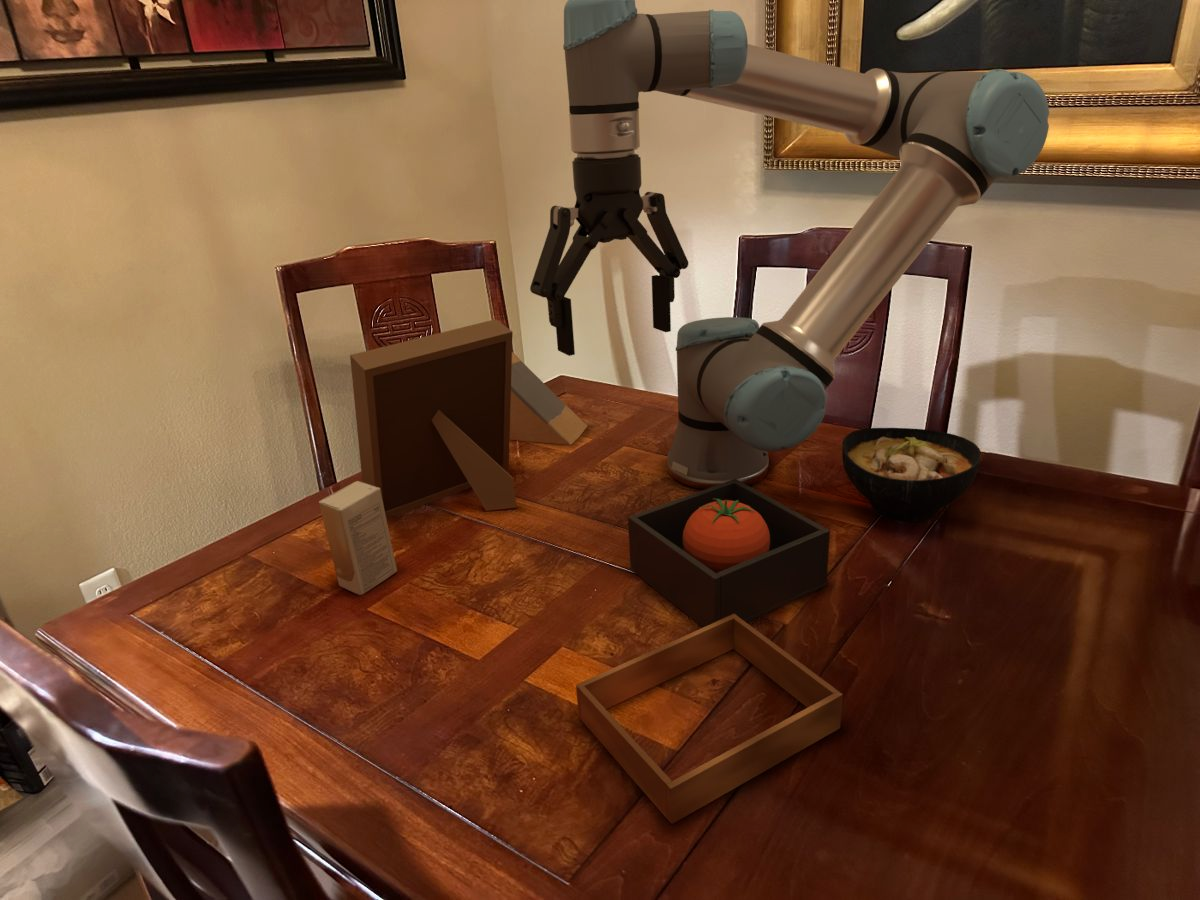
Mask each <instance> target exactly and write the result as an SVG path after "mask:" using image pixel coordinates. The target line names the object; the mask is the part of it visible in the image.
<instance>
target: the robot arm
mask: <svg viewBox="0 0 1200 900" xmlns="http://www.w3.org/2000/svg"><path fill="white" fill-rule="evenodd" d="M562 46H563V47H562V48H563V50H564V58H565V59H564V61H565V71H566V82H567V83H566V84H567V95H568V109H569V110H568V111H569V114H568V116H569V134H570V150H571V151H572V152H573V154H576V157H574V158H573V160H572V162H571V163H572V178H573V179H572V180H573V189H574V193H575V204H574V207H573V206H569V207H566V206H565V207H564V206H561V205H552V206H551V208H550V211H549V229H548V231H547V235H546V238H545V240H544V244H543V247H542V250H541V253H540V256H539V259H538V262H537V265H536V268H535V271H534V273H533V274H534V275H533V276H532V280H531V284H530V286H529V290H530V292H531V293H532V294H533V295H536V296H538V297H542V298H545V299H546V301H547V311H548V322H549V324H550V326H552V327H554V328H555V331H556V333H555V334H556V344H557V351H558V352H560V353H563V354H564V355H566V356H568V357H570V356H571V357H572V356H575V354H576V350H575V338H574V337H575V336H574V325H573V324H574V323H573V311H572V298H568V297H567V296H566V294H567V293H568V291H569V289H570V288H571V286H572V284H573V282H574V280H575V279H576V277H577V275H578V274H579V272H580V270H581V269H582V267H583V265H584V264H585V262H586V260H587V259H588V257H589V255H590V253H591V252H592V250H594V249H595V248H597V246H598V244H599V243H602V244H606V243H611V242H612V241H614V240H619V241H622V240H627V238H628V239H629V241H630V242H631V243H632V244H633V245H634V246H635V247H636V249H637V250H638V251H639V252H640V253H641V254H642V256H643V257H644V258H645V259H646V260H647V261H648V263H649V264H650V265H651V266H652V267H653V268H654V270H655V271H656V272H657V273H658V274H655V275H651V297H652V298H651V300H652V301H651V302H652V303H651V304H652V305H651V306H652V328H653V329H654V330H655V329H656V330H658V331H661V332H664V333H670V332H671V331H672V323H671V322H672V321H671V320H672V319H671V316H672V315H671V303H673V302H674V301H675V295H676V294H675V292H676V291H675V279H678V278H679V277H680V275H681V270H686V269H688V267H689V261H688V258H687V256H686V253H685V251H684V249H683V247H682V244H681V241H680V240H679V238H678V236H677V233H676V231H675V229H674V227H673V225H672V222H671V220H670V217H669V216H668V213H667V208H666V207H667V206H666V200H665V196H664V194H663V193H660V192H654V191H647V192H645V193H644V195H643V196H641V193H640V190H641V187H642V158H641V156H639V154H638V153H635V151H636V150H638V149H639V148H640V147H641V142H640V141H641V140H640V139H641V138H640V113H639V112H640V111H639V109H640V103H639V95H640V93H652V92H659V93H664V94H669V95H673V96H680V97H684V98H689V99H693V100H697V101H702V102H706V103H709V104H714V105H719V106H723V107H727V108H731V109H736V110H740V111H745V112H748V113H749V112H750V113H754V114H758V115H762V116H767V117H772V118H775V119H780V120H784V121H788V122H792V123H796V124H800V125H801V124H802V125H805V126H809V127H814V128H818V129H823V130H828V131H832V132H836V133H841V134H844V135H845V138H846V139H847V141H848V142H849V143H851V144H852V145H856V146H861V147H865V148H868V149H872V150H875V151H878V152H880V153H883V154H887V155H889V156H891V157H894V158H897V159H899V160H900V161H899V162H900V167H899V168H898V170H897V171H896V172H895V173H894V175H893V176H892V177H891V179H890V180H889V181H888V182H887V183H886V185H885V186H884V187H883V189H882V190H881V191H880V192H879V194H878V195H877V196H876V198H875V199H874V200H873V201H872V202H871V204H870V205H869V207H868V208H867V209H866V210H865V212H864V213H863V214H862V215H861V216H860V218H859V219H858V220H857V222H856V223H855V224H854V226H853V227H852V228H851V229H850V230H849V232H848V233H847V234H846V236H845V237H844V238H843V240H842V241H841V242H840V243H839V244H838V246H837V247H836V248H835V250H834V251H833V252H832V253H831V255H830V256H829V257H828V259H827V260H826V261H825V262H824V264H823V265H822V266H821V267H820V269H819V270H818V271H817V273H816V274H815V275H814V276H813V277H812V279H811V280H810V281H809V283H808V284H807V285H806V286H805V287H804V289H803V290H802V292H801V293H800V294H799V296H798V297H796V299H795V301H794V302H793V303H792V304H791V305H790V307H789V308H788V309H787V310H786V312H785V313H784V314H783V316H782V317H781V318H780V319H778V320H774V321H773V320H772V321H767V322H766V321H765V322H762V324H761V325H760V324H759V323H758V321H757V320H755V319H752V318H750V317H740V316H726V317H725V316H724V317H712V318H711V317H710V318H703V319H698V320H694V321H690V322H687V323H685V324H683V325H682V326H680V328H679V329H678V330H677V334H676V347H675V351H676V376H677V377H676V379H677V412H678V413H677V415H678V416H677V417H678V419H677V420H678V421H677V425H676V427H675V432H674V434H673V438H672V442H671V446H670V448H669V450H668V452H667V456H666V460H667V461H666V465H667V466H666V467H667V472H668V474H669V476H670V477H671V478H672V479H674V480H675V481H677V482H679V483H680V484H683V485H685V486H688V487H691V488H695V489H700V490H705V489H708V488H711V487H713V486H716V485H719V484H722V483H725V482H727V481H731V480H733V479H737V480H739V481H740V482H742V483H744V484H746V485H748V486H749V487H750V486H751V485H754V484H757V483H758V482H760V481H761V480H763V479H764V478H765V477H766V476H767V474H768V472H769V467H770V466H769V461H770V460H769V459H770V458H769V453H768V452H779V451H785V450H790V449H792V448H794V447H797V446H798V445H800V444H802V443H804V442H805V441H806V440H808V439H809V438H810V437H811V436H812V435H813V434H814V433H815V432H816V431H817V430H818V429H819V427H820V426H821V424H822V422H823V420H824V417H825V416H826V415H825V414H826V412H827V411H826V407H825V405H826V404H827V402H828V399H827V393H826V390H827V388H828V387H829V386H830V385H831V383H832V382H833V381H835V378H836V373H835V372H836V371H835V364H834V363H835V360H836V358H837V357H838V356H839V354H841V353H842V351H843V350H844V349H845V347H847V344H849V342H850V341H851V340H852V338H853V337H854V336H855V335H856V333H857V332H858V331H859V330H860V329H861V328H862V326H863V325H864V323H866V321H867V320H868V318H869V317H870V316H871V315H872V313H874V312H875V310H876V309H877V307H878V306H879V305H880V303H881V302H883V300H884V298H886V296H887V295H888V294H889V292H891V290H892V289H893V287H894V286H895V285H896V284H897V282H898V281H899V280H900V279H901V277H902V276H903V275H904V274H905V272H906V271H907V270H908V269H909V268H910V266H911V265H912V264H913V263H914V261H915V260H916V259H917V257H918V256H919V255H920V254H921V253H922V251H923V250H924V249H925V248H926V247H927V245H928V244H929V242H930V241H931V240H932V239H933V238H934V236H935V235H936V233H938V231H939V230H940V229H941V228H942V226H943V225H945V223H946V222H947V220H948V219H949V218H950V217H951V215H953V213H954V212H955V210H957V208H958V207H961V206H962V207H963V206H969V205H974V204H976V203H977V202H978V201H979V200H980V199H981V198H982V197H983V195H984V194H985V193H986V192H987V191H988V190H989V188H990V187H991V185H992V184H993V183H994V182H995V181H996V179H1009V178H1011V177H1015V176H1018V175H1020V174H1022V173H1024V172H1025V171H1026V170H1028V169H1029V168H1030V167H1031V166H1032V165H1033V164H1034V163H1035V162H1036V161H1037V159H1038V157H1039V156H1040V154H1041V152H1042V150H1043V149H1044V146H1045V143H1046V140H1047V137H1048V134H1049V128H1050V124H1049V121H1048V119H1049V116H1050V108H1049V102H1048V100H1047V96H1046V94H1045V91H1044V90H1043V88H1042V87H1041V85H1040V84H1039V82H1038V81H1036V80H1035V79H1034V78H1033V77H1032V76H1030V75H1028V74H1026V73H1023V72H1019V71H1008V70H1006V69H1002V68H995V69H990V70H988V71H931V72H930V71H929V72H897V71H890V70H886V69H883V68H877V67H876V68H875V67H874V68H871V69H869V70H867V71H866V72H865V73H863V72H858V71H856V70H855V71H854V70H850V69H847V68H844V67H838V66H835V65H832V64H827V63H823V62H819V61H816V60H812V59H809V58H804V57H800V56H797V55H796V56H795V55H793V54H790V53H789V54H788V53H784V52H781V51H777V50H773V49H769V48H765V47H762V46H757V45H753V44H749V41H748V33H747V30H746V25H745V23H744V21H743V19H742V17H741V16H740V15H739V14H738V13H737V12H735V11H732V10H714V9H713V8H712V9H708V10H700V11H697V10H696V11H684V12H668V13H657V14H655V13H654V14H650V13H638V8H637V7H636V0H567V2H566V3H565V4H564V8H563V45H562ZM642 212H644V214H646V217H647V220H648V221H649V224H650V227H651V229H652V231H653V233H654V235H655V237H656V239H657V241H658V243H659V245H660V247H661V249H660V247H659V246H658V245H657V244H656V242H655V241H654V240H653V238H651V236H650V234H648V230H647V229H646V228H645V226H644V225H643V224H642V223H641V222H640V220H639V218H640V215H641V214H642ZM575 220H576V222H577V223H578V224H579V226H578V228H577V229H576V230H575V233H574V234H573V236H572V242H571V244H570V246H569V247H568V249H567V250H566V252H565V254H564V251H565V249H566V246H567V242H568V239H569V236H570V231H571V228H572V227H573V226H574V224H575ZM563 254H564V256H563Z"/></svg>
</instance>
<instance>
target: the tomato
mask: <svg viewBox="0 0 1200 900" xmlns="http://www.w3.org/2000/svg"><path fill="white" fill-rule="evenodd" d="M715 500H717V501H715V502H712V503H708V504H705V505H704V506H702V507H699V509H698V510H696V511H695V512H694V513H693V514H692V515H691V516H690V518H689V519H688V521H687V523H686V526H685V528H684V531H683V547H684V551H685V552H686V553H688V554H689V555H691V556H692V557H693V558H695V559H696V560H698V561H699V562H700V563H702V564H703V565H705V566H706V567H708V568H709V569H710V570H712V571H713V572H715V573H718V572H720V571H723V570H725V569H728V568H730V567H732V566H735V565H737V564H740V563H742V562H744V561H747V560H749V559H752V558H754V557H756V556H759V555H761V554H764V553H766V552H768V551H769V547H770V534H769V530H768V527H767V524H766V522H765V521H764V519H763V518H762V516H761V515H760V514H759V513H758V512H757V511H755V510H754V509H752V508H751V507H750V506H748V505H745V504H742V503H740V502H738V501H739V500H736V501H730V500H722V501H721V500H720V499H715Z"/></svg>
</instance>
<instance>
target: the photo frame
mask: <svg viewBox="0 0 1200 900" xmlns="http://www.w3.org/2000/svg"><path fill="white" fill-rule="evenodd" d="M513 333H514V332H513V331H512V329H509V328H508V327H507V326H506V325H504V323H502V322H500V320H498V319H496V318H494V319H491V320H487V321H483V322H478V323H474V324H470V325H466V326H462V327H459V328H458V327H457V328H454V329H451V330H447V331H442V332H438V333H434V334H430V335H425V336H422V337H418V338H414V339H410V340H406V341H402V342H397V343H393V344H389V345H385V346H382V347H381V346H380V347H377V348H373V349H369V350H365V351H362V352H357V353H352V354H350V355H349V359H350V368H351V369H350V370H351V381H352V388H353V389H352V390H353V398H354V400H353V401H354V410H355V419H356V430H357V431H356V432H357V440H358V441H357V442H358V450H359V460H360V462H359V463H360V470H361V471H360V472H361V482H363V483H366V484H369V485H372V486H375V487H378V488H380V491H381V496H382V500H383V505H384V510H385V515H386V519H389V518H391V517H392V518H393V517H395V516H397V515H400V514H402V513H405V512H408V511H412V510H414V509H416V508H417V509H418V508H420V507H422V506H424V505H427V504H431V503H432V502H433V503H434V502H436V501H438V500H442V499H443V498H444V499H445V498H446V497H449V496H452V495H455V494H457V493H460V492H464V491H465V490H469V489H472V490H473V492H474V493H475V495H476V497H477V499H478V500H479V502H480V504H481V505H482V507H483V509H484V510H485V511H486V512H490V511H498V510H505V509H506V510H507V509H515V508H517V500H516V491H515V484H514V477H513V476H512V475H511V474H510V442H511V440H510V406H511V370H512V352H513Z"/></svg>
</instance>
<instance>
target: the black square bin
mask: <svg viewBox="0 0 1200 900" xmlns="http://www.w3.org/2000/svg"><path fill="white" fill-rule="evenodd" d="M715 499H720V500H721V501H722V500H730V501H736V500H739V501H738V502H740V503H742V504H745V505H748V506H750V507H751V508H752V509H754V510H755V511H757V512H758V513H759V514H760V515H761V516H762V518H763V519H764V521H765V522H766V524H767V527H768V530H769V534H770V547H769V551H768V552H766V553H764V554H761V555H759V556H756V557H754V558H752V559H749V560H747V561H744V562H742V563H740V564H737V565H735V566H732V567H730V568H728V569H725V570H723V571H720V572H718V573H715V572H713V571H712V570H710V569H709V568H708V567H706V566H705V565H703V564H702V563H700V562H699V561H698V560H696V559H695V558H693V557H692V556H691V555H689V554H688V553H686V552H685V551H684V547H683V531H684V528H685V526H686V523H687V521H688V519H689V518H690V516H691V515H692V514H693V513H694V512H695V511H696V510H698V509H699V507H702V506H704V505H705V504H708V503H712V502H715V501H717V500H715ZM627 525H628V527H627V528H628V546H629V548H628V549H629V565H630V567H629V570H630V571H631V572H632V573H634V574H635V575H636V576H637V577H639V578H640V579H641V580H642V581H644V582H645V583H646V584H647V585H649V587H651V588H653V589H654V590H655V591H657V592H658V593H659V595H661V596H663V598H665V599H666V600H668V601H669V602H670V603H671V604H672V605H673V606H674V607H676V608H677V609H678V610H680V611H681V612H683V613H684V614H685V615H686V616H688V618H690V619H691V620H692V621H694V622H695V623H696V624H697V625H699V626H700V628H703V627H706V626H708V625H710V624H712V623H714V622H717V621H719V620H721V619H723V618H726V617H728V616H730V615H732V614H735V615H737V616H738V617H739V618H741V619H742V620H743V621H745V622H746V623H747V624H748V623H749V622H751V621H753V620H756V619H758V618H759V617H762V616H764V615H766V614H769V613H771V612H773V611H775V610H777V609H779V608H781V607H783V606H786V605H788V604H790V603H793V602H795V601H797V600H799V599H801V598H804V597H805V596H807V595H810V594H812V593H814V592H816V591H819V590H821V589H823V588H825V587H827V585H828V584H827V583H828V568H829V552H830V539H831V538H830V537H831V530H830V529H828V528H826V527H825V526H823V525H822V524H820V523H817V522H815V521H813V520H811V519H810V518H808V517H806V516H805V515H802V514H800V512H799V513H798V512H797V511H796V510H793V509H792V508H790V507H788V506H786V505H784V504H782V503H781V502H779V501H777V500H775V499H773V498H772V497H769V496H768V495H766V494H764V493H762V492H760V491H759V490H757V489H755V488H753V487H751V486H750V485H749V486H748V485H746V484H744V483H742V482H740V481H739V480H737V479H733V480H731V481H727V482H725V483H722V484H719V485H716V486H713V487H711V488H708V489H701V490H700V491H697V492H694V493H691V494H688V495H685V496H682V497H679V498H677V499H674V500H672V501H669V502H665V503H663V504H660V505H658V506H655V507H652V508H649V509H646V510H642V511H641V512H638V513H635V514H633V515H630V516H628V517H627Z"/></svg>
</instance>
